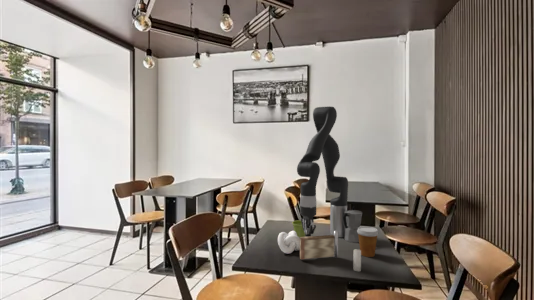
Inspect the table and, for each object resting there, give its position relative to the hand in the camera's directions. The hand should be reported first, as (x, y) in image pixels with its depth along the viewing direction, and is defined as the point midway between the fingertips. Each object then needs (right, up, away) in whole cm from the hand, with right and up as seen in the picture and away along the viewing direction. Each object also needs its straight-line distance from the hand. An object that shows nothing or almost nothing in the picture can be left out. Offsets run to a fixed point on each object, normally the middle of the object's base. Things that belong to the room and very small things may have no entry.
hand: (308, 241), depth 136 cm
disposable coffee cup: (+28, -6, 0) cm, 29 cm away
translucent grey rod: (+12, -6, -3) cm, 14 cm away
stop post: (+18, -6, -16) cm, 25 cm away
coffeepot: (+27, -6, +21) cm, 34 cm away
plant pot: (-1, -6, +24) cm, 24 cm away
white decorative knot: (-9, -6, +5) cm, 12 cm away
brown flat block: (+3, -5, -5) cm, 8 cm away
